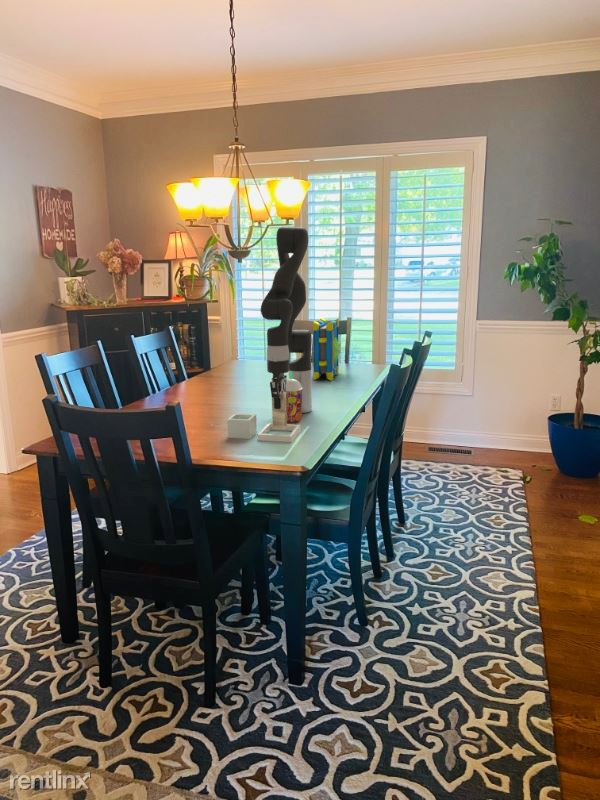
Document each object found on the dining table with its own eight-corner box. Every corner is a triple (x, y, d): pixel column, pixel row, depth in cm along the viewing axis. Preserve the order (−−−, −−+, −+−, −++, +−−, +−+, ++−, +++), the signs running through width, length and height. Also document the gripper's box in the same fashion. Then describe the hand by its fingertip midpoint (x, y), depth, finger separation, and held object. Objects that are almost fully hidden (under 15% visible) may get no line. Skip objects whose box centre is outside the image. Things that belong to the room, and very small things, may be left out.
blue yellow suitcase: (343, 373, 319) (343, 317, 312) (335, 381, 297) (335, 322, 290) (317, 372, 323) (317, 317, 316) (307, 380, 301) (307, 322, 294)
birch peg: (275, 425, 207) (274, 392, 205) (286, 425, 207) (285, 392, 204) (272, 428, 204) (271, 394, 201) (283, 428, 203) (283, 395, 200)
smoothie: (280, 420, 228) (279, 369, 223) (302, 419, 228) (301, 369, 224) (281, 426, 220) (280, 374, 215) (304, 425, 220) (303, 373, 216)
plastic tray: (268, 431, 214) (268, 423, 213) (300, 432, 211) (300, 424, 211) (257, 442, 201) (257, 434, 200) (291, 444, 198) (291, 436, 197)
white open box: (235, 433, 212) (234, 413, 210) (256, 434, 210) (256, 414, 208) (228, 440, 204) (227, 419, 202) (250, 441, 202) (249, 420, 201)
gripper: (272, 354, 207) (274, 401, 211) (261, 361, 194) (263, 411, 198) (293, 355, 205) (294, 402, 209) (283, 361, 192) (284, 412, 196)
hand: (279, 406), depth 203 cm, fingers closed on birch peg, 4 cm apart
